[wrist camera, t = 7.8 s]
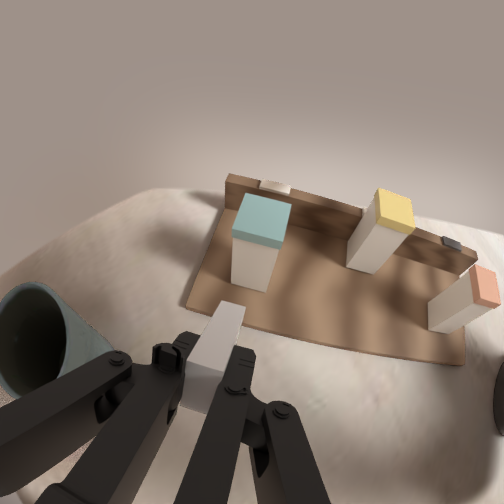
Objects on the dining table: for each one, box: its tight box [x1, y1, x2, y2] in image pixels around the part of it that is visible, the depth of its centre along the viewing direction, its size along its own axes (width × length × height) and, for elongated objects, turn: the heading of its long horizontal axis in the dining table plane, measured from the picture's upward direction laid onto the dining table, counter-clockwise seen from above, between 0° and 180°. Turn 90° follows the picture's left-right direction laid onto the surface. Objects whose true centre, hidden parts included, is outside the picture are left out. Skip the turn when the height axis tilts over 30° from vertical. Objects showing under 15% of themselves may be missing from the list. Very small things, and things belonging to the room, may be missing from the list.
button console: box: [186, 174, 478, 366], centre depth 30 cm, size 38×16×6 cm, turn 76°
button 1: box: [428, 264, 501, 334], centre depth 26 cm, size 4×4×10 cm
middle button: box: [346, 188, 415, 275], centre depth 30 cm, size 4×4×10 cm
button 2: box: [231, 193, 292, 293], centre depth 27 cm, size 4×4×10 cm
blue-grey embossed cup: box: [0, 282, 114, 399], centre depth 20 cm, size 10×10×12 cm
